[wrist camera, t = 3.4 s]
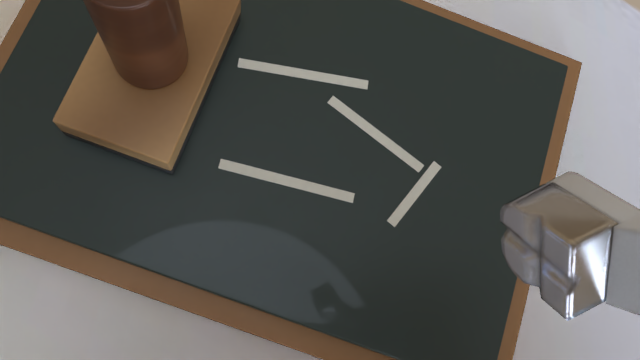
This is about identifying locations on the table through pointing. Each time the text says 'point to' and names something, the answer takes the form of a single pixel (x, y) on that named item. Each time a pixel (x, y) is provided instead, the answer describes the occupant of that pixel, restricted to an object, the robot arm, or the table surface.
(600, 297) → the robot arm
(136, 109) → the peg on wooden base
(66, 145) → the slate board
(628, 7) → the table surface
